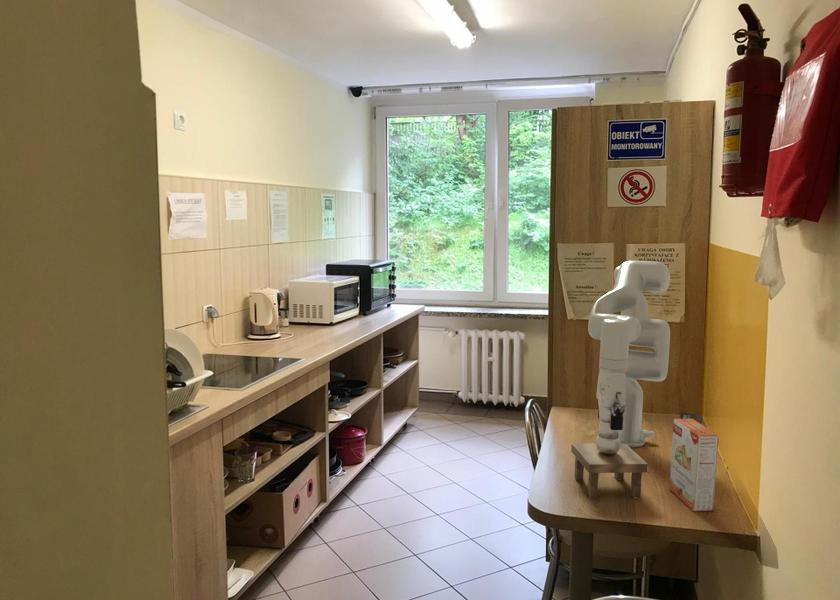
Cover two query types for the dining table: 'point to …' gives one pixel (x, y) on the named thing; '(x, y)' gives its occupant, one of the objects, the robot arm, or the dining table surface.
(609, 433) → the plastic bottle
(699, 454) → the cracker box
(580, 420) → the dining table surface
